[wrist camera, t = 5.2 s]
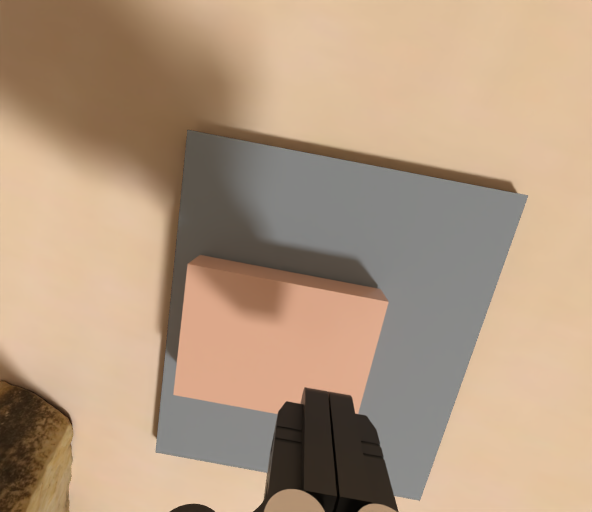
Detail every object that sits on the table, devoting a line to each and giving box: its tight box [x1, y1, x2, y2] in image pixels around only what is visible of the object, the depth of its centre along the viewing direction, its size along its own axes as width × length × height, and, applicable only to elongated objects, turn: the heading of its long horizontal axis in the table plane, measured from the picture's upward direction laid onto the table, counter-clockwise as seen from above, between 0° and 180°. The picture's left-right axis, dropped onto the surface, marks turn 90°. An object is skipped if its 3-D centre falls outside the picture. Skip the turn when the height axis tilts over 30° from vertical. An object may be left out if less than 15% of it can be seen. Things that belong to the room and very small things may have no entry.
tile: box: [173, 255, 389, 414], centre depth 15 cm, size 6×2×8 cm
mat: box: [156, 130, 528, 501], centre depth 16 cm, size 16×14×1 cm
